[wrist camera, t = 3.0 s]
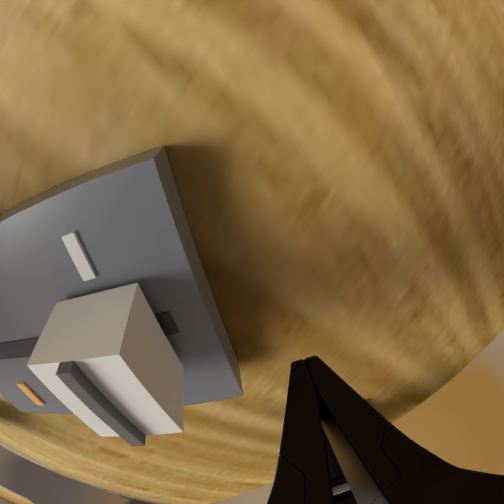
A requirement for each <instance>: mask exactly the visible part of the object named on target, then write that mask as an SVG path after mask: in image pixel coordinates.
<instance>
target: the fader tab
mask: <svg viewBox="0 0 504 504" xmlns="http://www.w3.org/2000/svg"><path fill="white" fill-rule="evenodd" d="M27 366H28V367H29V369H30V370H31V371H32V372H33V373H34V374H35V375H36V376H37V377H38V379H39V380H40V381H41V382H42V383H43V384H44V385H45V386H46V387H47V388H48V389H49V390H50V391H51V392H52V393H53V394H54V395H55V396H56V397H57V398H58V399H59V400H60V401H61V402H62V403H63V404H64V405H65V406H66V407H67V408H68V409H70V410H71V411H72V412H73V413H74V414H75V415H76V416H77V417H78V418H79V419H81V420H82V421H83V422H84V423H85V424H86V425H88V426H89V427H90V428H91V429H92V430H94V431H95V432H96V433H97V434H98V435H100V436H121V437H122V438H123V439H124V440H125V441H127V442H128V443H129V444H130V445H132V446H145V435H158V434H170V433H180V432H183V365H182V363H181V362H180V360H179V358H178V357H177V355H176V353H175V352H174V350H173V348H172V346H171V345H170V343H169V341H168V339H167V338H166V336H165V334H164V332H163V330H162V329H161V327H160V325H159V323H158V321H157V319H156V318H155V316H154V314H153V312H152V310H151V308H150V306H149V304H148V302H147V300H146V298H145V296H144V294H143V292H142V290H141V288H140V286H139V284H138V283H134V284H130V285H126V286H122V287H118V288H114V289H110V290H106V291H102V292H98V293H94V294H90V295H86V296H82V297H78V298H74V299H70V300H66V301H61V302H57V304H56V305H55V307H54V309H53V311H52V313H51V315H50V317H49V319H48V321H47V323H46V325H45V327H44V329H43V331H42V333H41V335H40V337H39V339H38V341H37V343H36V346H35V348H34V350H33V352H32V354H31V357H30V359H29V361H28V364H27Z"/></svg>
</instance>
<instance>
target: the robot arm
mask: <svg viewBox="0 0 504 504" xmlns="http://www.w3.org/2000/svg"><path fill="white" fill-rule="evenodd" d="M279 455H280V456H279V458H278V465H277V470H276V475H275V480H274V483H273V487H272V490H271V494H270V497H269V499H268V502H267V504H504V475H497V474H490V473H484V472H478V471H472V470H467V469H462V468H458V467H456V466H453V465H451V464H449V463H447V462H446V461H444V460H442V459H441V458H439V457H437V456H436V455H434V454H432V453H431V452H429V451H428V450H426V449H425V448H423V447H421V446H420V445H418V444H417V443H415V442H414V441H413V440H411V439H410V438H408V437H407V436H406V435H404V434H403V433H402V432H401V431H400V430H398V429H397V428H396V427H395V426H394V425H392V424H391V423H390V422H389V421H387V419H386V418H384V417H383V416H382V415H381V414H380V413H379V412H378V411H377V410H375V409H374V408H373V407H372V406H371V405H370V404H369V403H368V402H367V401H365V400H364V399H363V398H362V397H361V396H360V395H359V394H358V393H357V392H356V391H354V390H353V389H352V388H351V387H350V386H349V385H348V384H347V383H346V382H345V381H344V380H342V379H341V378H340V377H339V376H338V375H337V374H336V373H335V372H334V371H333V370H332V369H331V368H330V367H328V366H327V365H326V364H325V363H324V362H323V361H322V360H321V359H320V358H319V357H317V356H312V357H308V358H305V360H303V359H301V360H298V361H294V362H292V363H291V370H290V378H289V387H288V395H287V403H286V411H285V418H284V425H283V432H282V439H281V446H280V453H279ZM348 489H351V490H348ZM346 490H348V491H346ZM342 491H345V492H343V493H340V492H342ZM337 493H340V494H337ZM334 494H337V495H334ZM333 495H334V496H333Z"/></svg>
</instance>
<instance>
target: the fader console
mask: <svg viewBox="0 0 504 504" xmlns="http://www.w3.org/2000/svg"><path fill="white" fill-rule="evenodd" d="M134 283H138V284H139V286H140V288H141V290H142V292H143V294H144V296H145V298H146V300H147V302H148V304H149V306H150V308H151V310H152V312H153V314H154V316H155V318H156V319H157V321H158V323H159V325H160V327H161V329H162V330H163V332H164V334H165V336H166V338H167V339H168V341H169V343H170V345H171V346H172V348H173V350H174V352H175V353H176V355H177V357H178V358H179V360H180V362H181V363H182V365H183V406H186V405H193V404H200V403H206V402H212V401H217V400H223V399H228V398H233V397H238V396H243V390H242V384H241V377H240V370H239V364H238V360H237V358H236V355H235V353H234V350H233V348H232V345H231V343H230V340H229V337H228V335H227V332H226V330H225V327H224V324H223V322H222V319H221V316H220V314H219V311H218V308H217V306H216V303H215V300H214V297H213V295H212V292H211V289H210V286H209V283H208V281H207V278H206V275H205V272H204V269H203V266H202V264H201V261H200V258H199V255H198V252H197V249H196V246H195V243H194V240H193V237H192V234H191V231H190V228H189V225H188V222H187V219H186V216H185V213H184V209H183V206H182V203H181V200H180V197H179V194H178V190H177V187H176V184H175V181H174V177H173V174H172V171H171V167H170V164H169V161H168V157H167V154H166V150H165V147H164V146H162V147H159V148H156V149H153V150H149V151H146V152H143V153H140V154H137V155H134V156H132V157H129V158H126V159H123V160H120V161H118V162H115V163H112V164H109V165H107V166H104V167H102V168H99V169H96V170H94V171H91V172H89V173H86V174H84V175H82V176H79V177H77V178H74V179H72V180H70V181H67V182H65V183H63V184H61V185H58V186H56V187H54V188H52V189H50V190H47V191H45V192H43V193H41V194H39V195H37V196H35V197H33V198H31V199H29V200H27V201H25V202H23V203H21V204H19V205H17V206H15V207H13V208H11V209H9V210H8V211H6V212H4V213H2V214H0V393H1V394H2V395H3V396H4V397H5V398H6V399H8V400H9V401H10V402H11V403H12V404H13V405H14V406H15V407H16V408H17V409H18V410H19V411H20V412H34V413H58V414H74V413H73V412H72V411H71V410H70V409H68V408H67V407H66V406H65V405H64V404H63V403H62V402H61V401H60V400H59V399H58V398H57V397H56V396H55V395H54V394H53V393H52V392H51V391H50V390H49V389H48V388H47V387H46V386H45V385H44V384H43V383H42V382H41V381H40V380H39V379H38V377H37V376H36V375H35V374H34V373H33V372H32V371H31V370H30V369H29V367H28V366H27V364H28V361H29V359H30V357H31V354H32V352H33V350H34V348H35V346H36V343H37V341H38V339H39V337H40V335H41V333H42V331H43V329H44V327H45V325H46V323H47V321H48V319H49V317H50V315H51V313H52V311H53V309H54V307H55V305H56V304H57V302H61V301H66V300H70V299H74V298H78V297H82V296H86V295H90V294H94V293H98V292H102V291H106V290H110V289H114V288H118V287H122V286H126V285H130V284H134Z"/></svg>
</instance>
